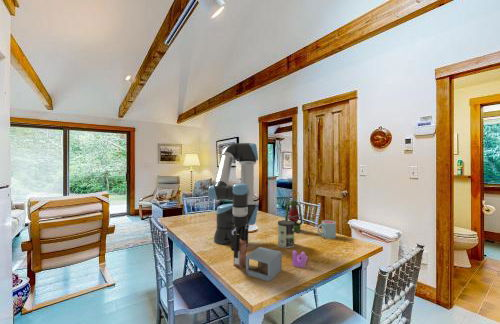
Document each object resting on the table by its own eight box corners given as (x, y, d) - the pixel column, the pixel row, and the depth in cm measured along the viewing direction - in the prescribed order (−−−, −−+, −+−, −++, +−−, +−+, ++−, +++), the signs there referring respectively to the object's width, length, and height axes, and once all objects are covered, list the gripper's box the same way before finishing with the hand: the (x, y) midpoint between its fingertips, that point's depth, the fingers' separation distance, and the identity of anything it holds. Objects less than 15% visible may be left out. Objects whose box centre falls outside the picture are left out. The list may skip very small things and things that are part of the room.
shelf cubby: (246, 274, 103) (246, 255, 103) (259, 263, 114) (259, 246, 114) (269, 281, 97) (269, 262, 97) (281, 269, 108) (281, 251, 108)
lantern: (282, 230, 169) (282, 190, 169) (287, 227, 178) (287, 189, 178) (300, 233, 162) (300, 192, 162) (304, 230, 171) (305, 190, 171)
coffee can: (294, 242, 144) (294, 220, 144) (294, 248, 134) (294, 225, 134) (278, 241, 147) (278, 219, 147) (277, 247, 136) (277, 223, 136)
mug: (329, 233, 163) (329, 219, 163) (338, 237, 154) (338, 223, 154) (313, 235, 159) (313, 221, 159) (321, 239, 150) (321, 224, 150)
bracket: (303, 268, 110) (303, 253, 110) (292, 265, 113) (292, 251, 113) (308, 257, 122) (308, 244, 122) (298, 255, 124) (298, 243, 124)
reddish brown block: (233, 266, 111) (233, 241, 111) (238, 262, 116) (239, 238, 116) (267, 275, 102) (267, 249, 102) (272, 271, 106) (272, 245, 106)
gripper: (236, 219, 103) (236, 270, 103) (255, 212, 118) (255, 257, 118) (223, 217, 107) (223, 267, 107) (243, 210, 122) (242, 254, 122)
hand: (239, 261), depth 112 cm, fingers closed on reddish brown block, 4 cm apart
